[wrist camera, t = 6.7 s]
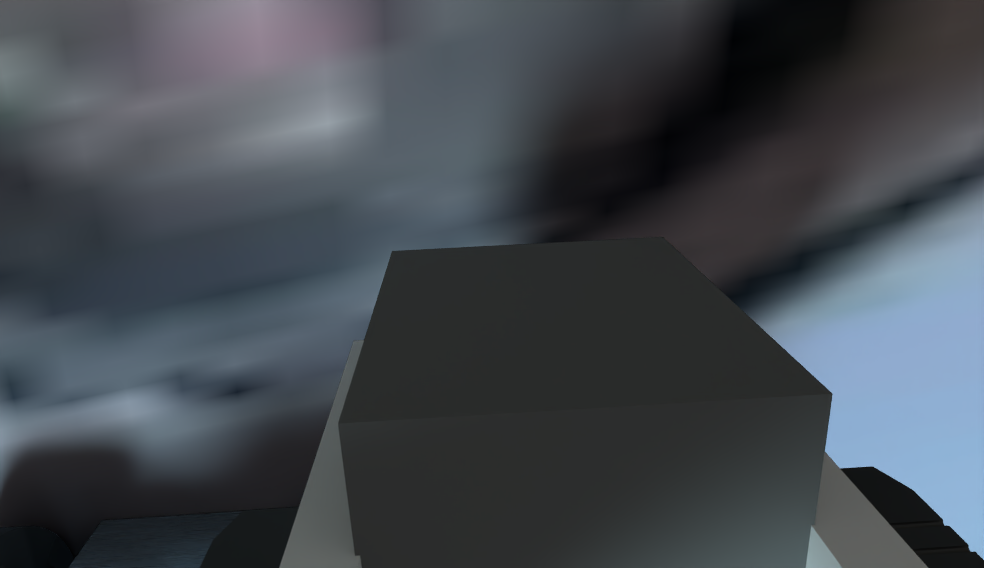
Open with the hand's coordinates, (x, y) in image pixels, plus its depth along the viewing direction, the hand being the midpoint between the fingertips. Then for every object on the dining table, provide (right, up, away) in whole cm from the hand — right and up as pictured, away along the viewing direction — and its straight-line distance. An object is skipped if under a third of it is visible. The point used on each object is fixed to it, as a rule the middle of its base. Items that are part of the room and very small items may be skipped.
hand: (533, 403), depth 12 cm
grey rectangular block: (0, 0, +1) cm, 1 cm away
